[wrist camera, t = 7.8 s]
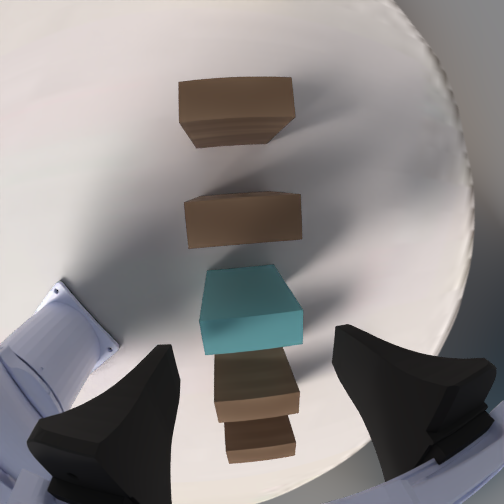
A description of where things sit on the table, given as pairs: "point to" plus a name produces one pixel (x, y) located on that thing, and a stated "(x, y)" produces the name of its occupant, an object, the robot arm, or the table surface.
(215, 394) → the domino
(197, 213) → the domino
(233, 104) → the domino
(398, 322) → the table surface
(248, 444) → the domino
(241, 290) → the domino
